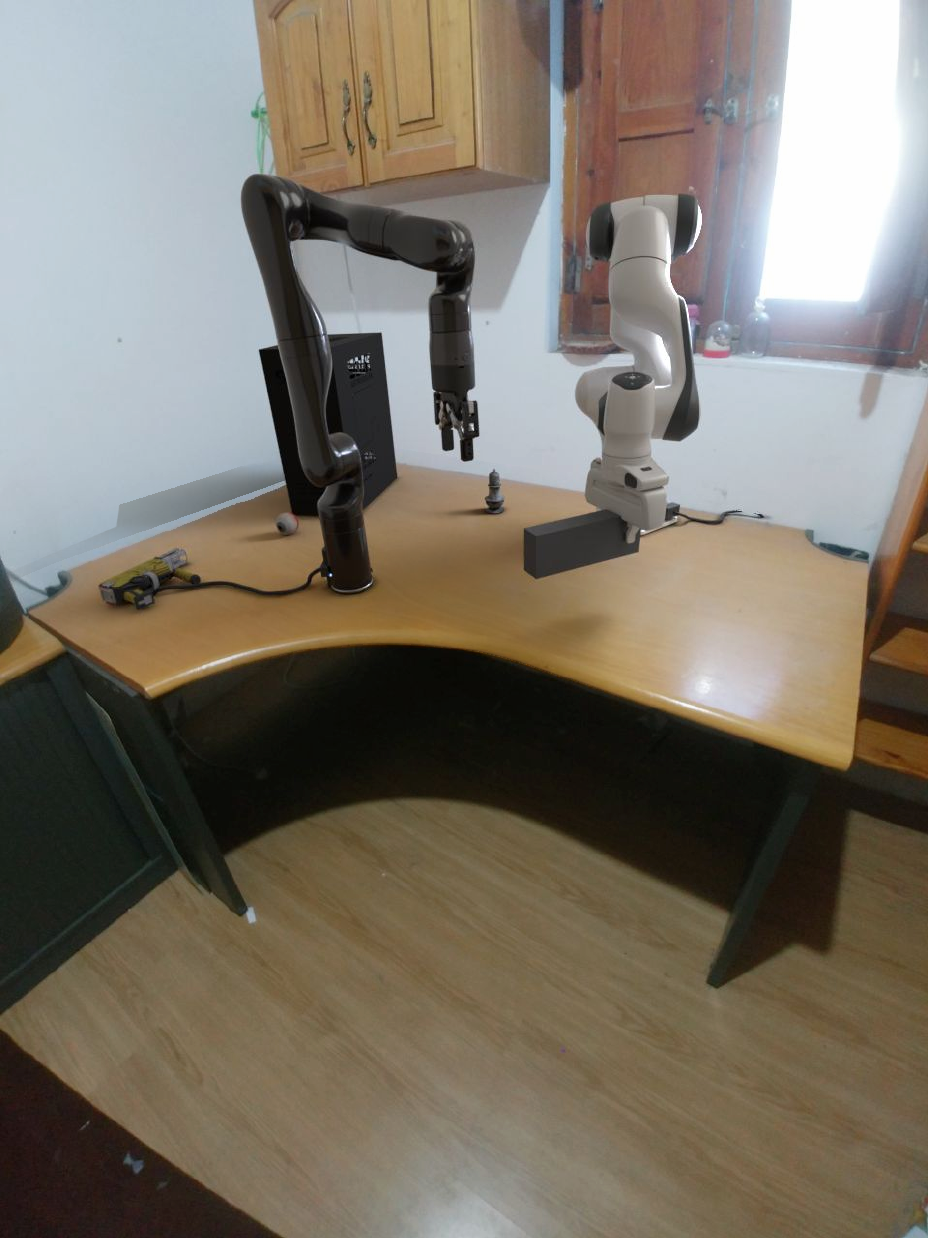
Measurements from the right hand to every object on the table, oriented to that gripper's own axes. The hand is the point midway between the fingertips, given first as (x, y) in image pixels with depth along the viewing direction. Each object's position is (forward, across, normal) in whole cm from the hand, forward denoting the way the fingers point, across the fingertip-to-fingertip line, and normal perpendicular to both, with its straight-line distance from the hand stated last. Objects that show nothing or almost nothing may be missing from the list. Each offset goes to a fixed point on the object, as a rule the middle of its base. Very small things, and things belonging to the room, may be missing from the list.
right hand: (619, 536), depth 119 cm
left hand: (-18, -13, -28) cm, 36 cm away
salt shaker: (+13, -59, +2) cm, 60 cm away
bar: (+3, 0, -8) cm, 9 cm away
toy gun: (+13, -55, -86) cm, 102 cm away
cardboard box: (+13, -97, -31) cm, 102 cm away
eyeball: (+13, -72, -54) cm, 91 cm away
